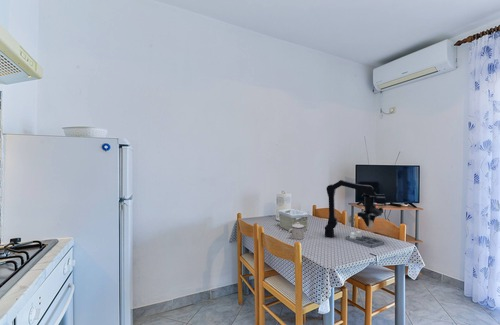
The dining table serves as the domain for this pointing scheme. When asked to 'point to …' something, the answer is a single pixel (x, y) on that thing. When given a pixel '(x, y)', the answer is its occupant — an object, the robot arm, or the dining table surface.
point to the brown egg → (370, 224)
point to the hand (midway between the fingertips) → (369, 225)
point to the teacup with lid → (297, 231)
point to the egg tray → (366, 241)
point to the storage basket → (292, 218)
